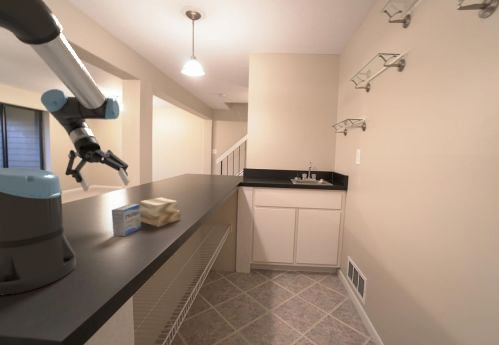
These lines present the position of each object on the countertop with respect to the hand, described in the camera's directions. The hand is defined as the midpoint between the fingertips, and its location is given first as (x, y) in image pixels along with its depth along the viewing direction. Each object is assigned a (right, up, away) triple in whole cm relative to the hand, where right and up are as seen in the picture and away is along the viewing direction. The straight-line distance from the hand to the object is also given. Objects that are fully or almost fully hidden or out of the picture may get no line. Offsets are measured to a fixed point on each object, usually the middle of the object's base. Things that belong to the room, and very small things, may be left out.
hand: (108, 185), depth 81 cm
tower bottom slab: (+15, -14, +9) cm, 22 cm away
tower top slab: (+14, -10, +8) cm, 19 cm away
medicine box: (+9, -15, -4) cm, 18 cm away
